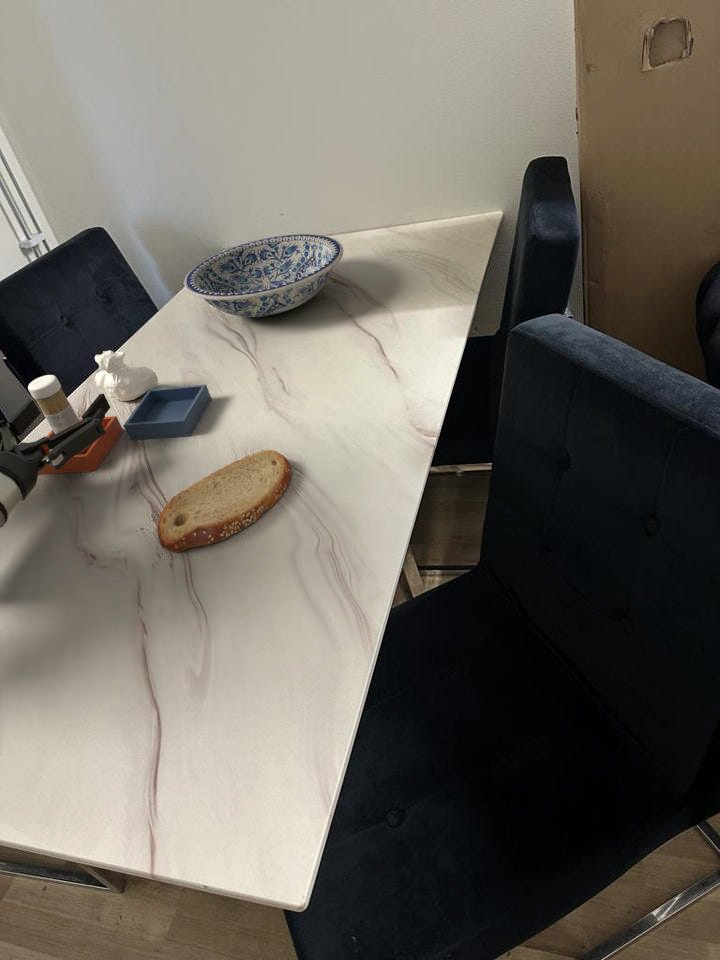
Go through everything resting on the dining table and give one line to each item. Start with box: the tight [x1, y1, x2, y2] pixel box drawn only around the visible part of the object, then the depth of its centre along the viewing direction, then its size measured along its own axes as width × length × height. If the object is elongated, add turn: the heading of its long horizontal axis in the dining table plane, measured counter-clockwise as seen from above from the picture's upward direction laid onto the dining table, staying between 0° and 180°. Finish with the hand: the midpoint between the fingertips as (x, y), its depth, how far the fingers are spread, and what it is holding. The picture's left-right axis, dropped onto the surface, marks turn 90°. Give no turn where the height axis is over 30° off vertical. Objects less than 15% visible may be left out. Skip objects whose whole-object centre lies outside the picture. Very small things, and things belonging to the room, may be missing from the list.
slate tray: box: [122, 384, 212, 441], centre depth 115 cm, size 11×11×3 cm
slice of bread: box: [156, 449, 293, 553], centre depth 93 cm, size 18×18×4 cm
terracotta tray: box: [38, 415, 125, 475], centre depth 112 cm, size 11×11×3 cm
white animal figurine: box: [94, 350, 159, 402], centre depth 122 cm, size 12×8×11 cm
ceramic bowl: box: [183, 233, 345, 318], centre depth 143 cm, size 34×34×10 cm
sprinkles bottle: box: [27, 374, 92, 455], centre depth 109 cm, size 5×5×13 cm
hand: (69, 403), depth 111 cm, fingers open, 13 cm apart
